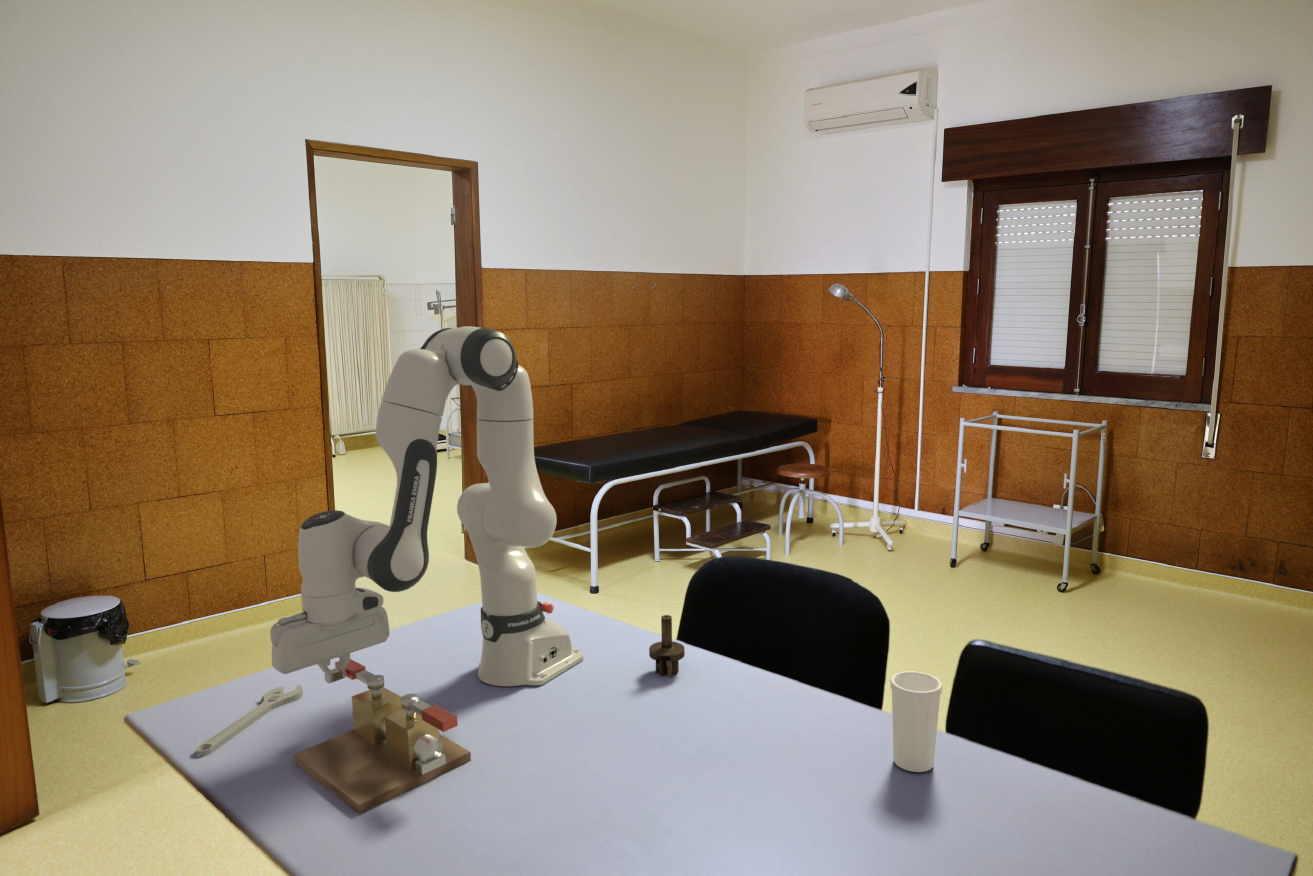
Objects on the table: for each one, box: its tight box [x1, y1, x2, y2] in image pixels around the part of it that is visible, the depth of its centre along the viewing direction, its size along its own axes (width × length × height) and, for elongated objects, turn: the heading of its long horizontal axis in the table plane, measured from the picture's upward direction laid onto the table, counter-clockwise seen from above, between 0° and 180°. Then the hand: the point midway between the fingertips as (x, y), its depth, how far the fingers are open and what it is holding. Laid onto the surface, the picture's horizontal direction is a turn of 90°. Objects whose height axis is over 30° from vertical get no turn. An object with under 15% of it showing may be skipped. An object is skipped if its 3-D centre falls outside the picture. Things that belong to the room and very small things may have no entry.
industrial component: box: [648, 614, 685, 679], centre depth 175 cm, size 9×7×12 cm
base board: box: [292, 729, 472, 814], centre depth 143 cm, size 20×22×2 cm
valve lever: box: [334, 658, 385, 690], centre depth 151 cm, size 13×3×2 cm, turn 48°
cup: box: [889, 670, 944, 773], centre depth 138 cm, size 8×8×14 cm
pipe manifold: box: [351, 686, 459, 775], centre depth 142 cm, size 6×28×10 cm, turn 47°
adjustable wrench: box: [195, 684, 304, 757], centre depth 158 cm, size 25×6×2 cm, turn 161°
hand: (335, 680), depth 151 cm, fingers closed
